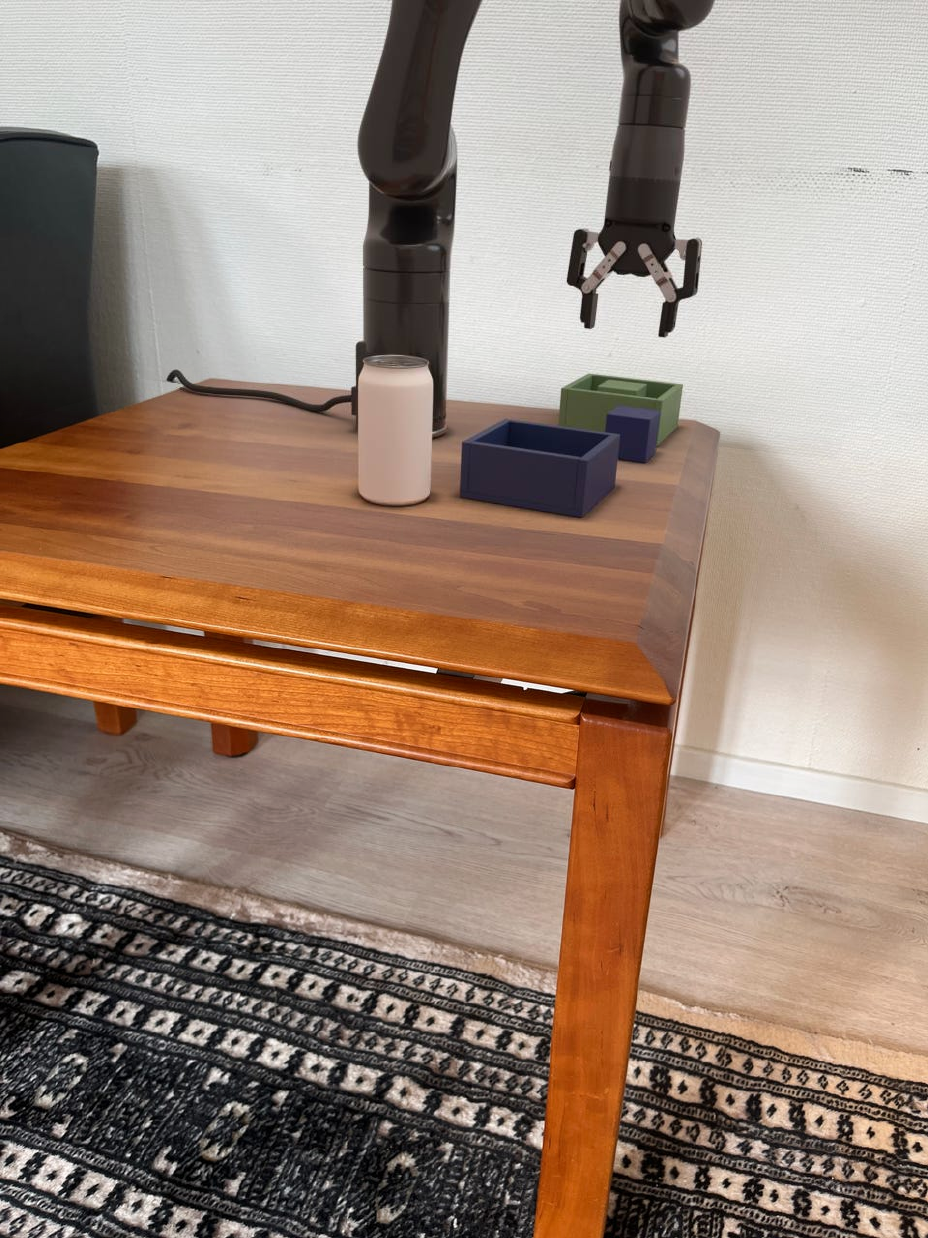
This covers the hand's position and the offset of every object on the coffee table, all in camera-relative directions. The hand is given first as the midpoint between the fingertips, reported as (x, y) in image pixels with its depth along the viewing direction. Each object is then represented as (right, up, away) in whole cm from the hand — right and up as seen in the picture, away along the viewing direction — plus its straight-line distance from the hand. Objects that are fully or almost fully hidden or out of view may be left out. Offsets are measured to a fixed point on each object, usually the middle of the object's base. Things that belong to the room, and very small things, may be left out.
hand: (625, 332), depth 111 cm
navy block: (-1, -15, -6) cm, 16 cm away
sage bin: (0, -10, +4) cm, 11 cm away
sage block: (0, -10, +4) cm, 10 cm away
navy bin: (-11, -20, -19) cm, 30 cm away
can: (-24, -21, -22) cm, 39 cm away
